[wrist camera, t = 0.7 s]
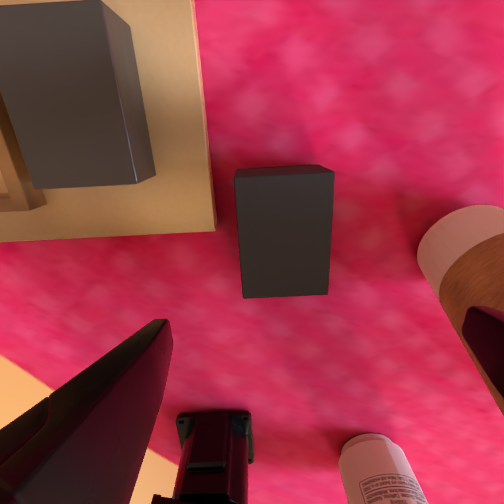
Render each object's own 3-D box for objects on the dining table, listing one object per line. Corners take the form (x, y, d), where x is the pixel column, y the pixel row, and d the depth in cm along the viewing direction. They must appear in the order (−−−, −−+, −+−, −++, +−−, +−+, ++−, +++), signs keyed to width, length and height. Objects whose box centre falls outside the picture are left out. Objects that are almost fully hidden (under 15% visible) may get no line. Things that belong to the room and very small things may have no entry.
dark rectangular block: (315, 268, 20) (328, 295, 17) (243, 272, 20) (242, 299, 17) (319, 164, 17) (335, 171, 14) (236, 168, 17) (233, 177, 14)
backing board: (217, 225, 19) (209, 249, 15) (-69, 240, 19) (-151, 268, 15) (188, -62, 13) (162, -141, 10) (-209, -35, 14) (-391, -102, 10)
